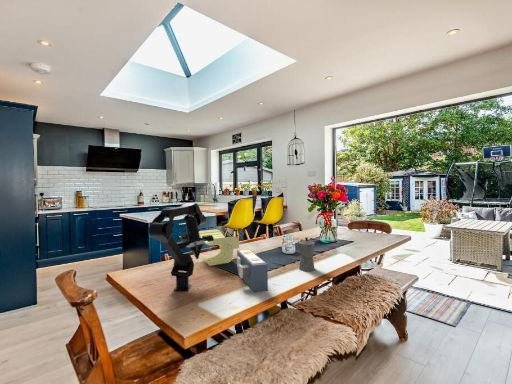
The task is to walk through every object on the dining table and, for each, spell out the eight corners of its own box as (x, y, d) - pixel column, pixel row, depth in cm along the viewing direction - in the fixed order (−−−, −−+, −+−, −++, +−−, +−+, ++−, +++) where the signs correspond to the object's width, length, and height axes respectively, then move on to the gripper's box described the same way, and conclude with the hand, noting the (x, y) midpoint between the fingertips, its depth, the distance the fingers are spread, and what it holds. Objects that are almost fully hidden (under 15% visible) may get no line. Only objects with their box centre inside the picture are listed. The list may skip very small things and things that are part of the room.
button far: (239, 269, 138) (239, 259, 138) (237, 266, 143) (236, 256, 143) (251, 267, 140) (251, 257, 140) (248, 264, 145) (248, 255, 145)
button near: (241, 278, 124) (241, 267, 124) (238, 274, 129) (238, 264, 129) (254, 276, 126) (254, 265, 126) (251, 273, 131) (251, 262, 131)
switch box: (253, 292, 120) (252, 264, 120) (237, 271, 149) (237, 249, 148) (267, 290, 122) (267, 262, 122) (249, 270, 151) (249, 248, 151)
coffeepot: (319, 271, 147) (319, 239, 146) (303, 273, 145) (303, 240, 144) (308, 263, 162) (308, 234, 161) (293, 265, 160) (293, 235, 159)
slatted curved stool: (239, 265, 161) (238, 235, 161) (214, 269, 154) (213, 238, 153) (221, 254, 188) (220, 228, 187) (198, 257, 180) (198, 231, 180)
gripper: (203, 223, 146) (207, 251, 146) (168, 231, 135) (173, 261, 136) (211, 224, 137) (216, 254, 137) (175, 232, 126) (181, 265, 126)
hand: (197, 258), depth 134 cm, fingers closed
